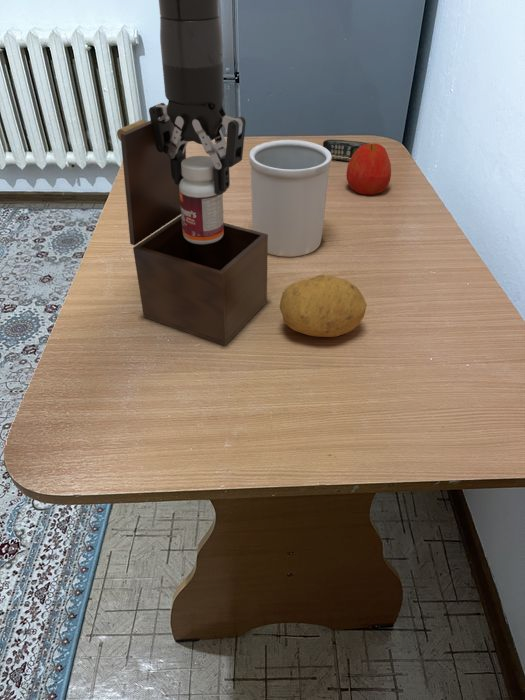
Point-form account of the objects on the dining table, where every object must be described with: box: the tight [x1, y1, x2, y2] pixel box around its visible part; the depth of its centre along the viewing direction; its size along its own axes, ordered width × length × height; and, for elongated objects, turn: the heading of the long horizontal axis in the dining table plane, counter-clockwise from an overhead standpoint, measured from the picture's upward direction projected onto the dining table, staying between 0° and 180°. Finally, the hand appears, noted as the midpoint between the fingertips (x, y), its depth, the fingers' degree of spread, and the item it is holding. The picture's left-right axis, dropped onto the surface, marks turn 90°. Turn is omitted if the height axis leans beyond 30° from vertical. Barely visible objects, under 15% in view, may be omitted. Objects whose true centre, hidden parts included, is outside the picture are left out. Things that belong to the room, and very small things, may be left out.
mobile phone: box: [322, 139, 371, 163], centre depth 145 cm, size 5×3×15 cm
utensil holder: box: [248, 139, 333, 258], centre depth 107 cm, size 15×15×18 cm
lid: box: [116, 119, 187, 246], centre depth 84 cm, size 16×14×5 cm
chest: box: [132, 215, 269, 347], centre depth 90 cm, size 16×14×13 cm
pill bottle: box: [179, 155, 225, 244], centre depth 81 cm, size 6×6×11 cm
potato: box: [279, 274, 367, 338], centre depth 87 cm, size 10×13×9 cm
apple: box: [345, 143, 392, 195], centre depth 129 cm, size 10×10×10 cm
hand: (200, 187), depth 80 cm, fingers closed on pill bottle, 6 cm apart
